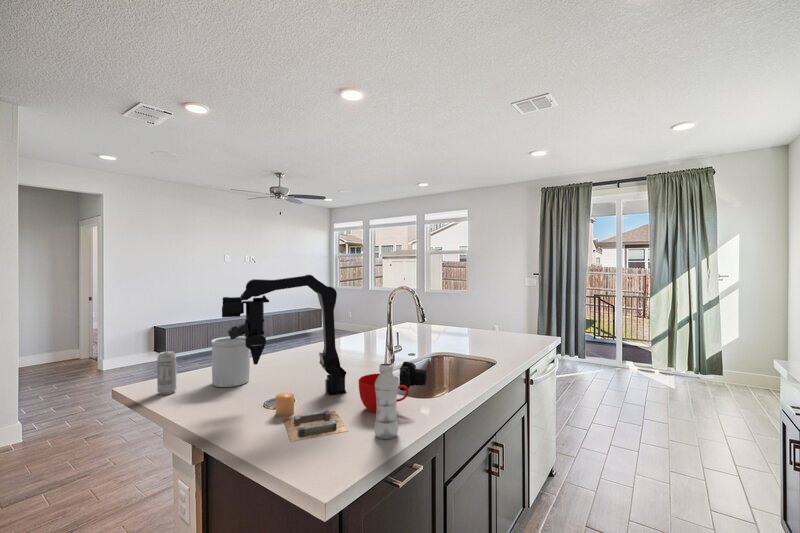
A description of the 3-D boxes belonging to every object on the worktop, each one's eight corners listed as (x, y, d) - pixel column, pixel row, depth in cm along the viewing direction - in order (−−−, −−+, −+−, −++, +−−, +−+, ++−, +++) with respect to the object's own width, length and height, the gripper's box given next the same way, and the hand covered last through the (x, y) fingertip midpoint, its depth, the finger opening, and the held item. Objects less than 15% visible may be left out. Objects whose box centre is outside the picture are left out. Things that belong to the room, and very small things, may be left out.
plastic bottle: (373, 432, 106) (373, 362, 106) (397, 431, 106) (397, 361, 106) (374, 443, 99) (374, 368, 99) (399, 442, 100) (399, 367, 100)
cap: (292, 409, 122) (292, 391, 122) (295, 416, 117) (295, 397, 117) (274, 412, 120) (274, 394, 120) (276, 419, 115) (276, 399, 115)
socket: (335, 412, 120) (335, 406, 120) (348, 432, 106) (348, 425, 106) (283, 420, 114) (283, 414, 114) (290, 443, 99) (290, 436, 99)
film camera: (422, 392, 139) (422, 368, 139) (397, 391, 141) (397, 367, 141) (427, 380, 154) (427, 358, 154) (404, 379, 156) (404, 357, 156)
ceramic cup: (401, 422, 113) (401, 389, 113) (351, 414, 119) (351, 383, 118) (414, 406, 125) (414, 376, 125) (368, 400, 131) (368, 372, 131)
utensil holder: (238, 374, 162) (238, 334, 162) (258, 380, 153) (258, 338, 153) (204, 383, 150) (204, 339, 150) (223, 390, 141) (223, 344, 141)
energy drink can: (180, 390, 142) (179, 350, 142) (168, 395, 136) (168, 354, 136) (165, 389, 143) (165, 350, 143) (153, 395, 137) (153, 354, 137)
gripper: (230, 313, 134) (230, 357, 134) (228, 321, 116) (228, 370, 116) (263, 312, 138) (263, 354, 138) (265, 318, 121) (266, 367, 121)
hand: (255, 361), depth 128 cm, fingers open, 9 cm apart
